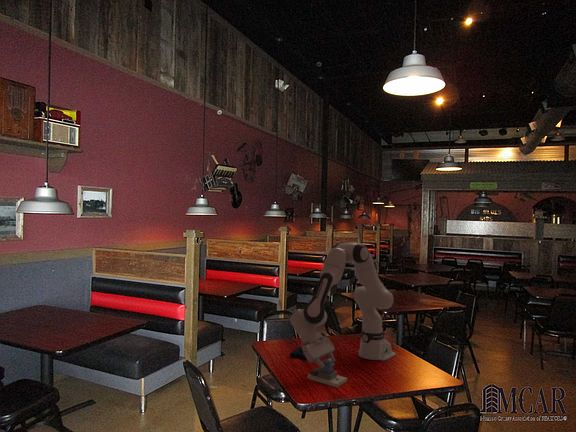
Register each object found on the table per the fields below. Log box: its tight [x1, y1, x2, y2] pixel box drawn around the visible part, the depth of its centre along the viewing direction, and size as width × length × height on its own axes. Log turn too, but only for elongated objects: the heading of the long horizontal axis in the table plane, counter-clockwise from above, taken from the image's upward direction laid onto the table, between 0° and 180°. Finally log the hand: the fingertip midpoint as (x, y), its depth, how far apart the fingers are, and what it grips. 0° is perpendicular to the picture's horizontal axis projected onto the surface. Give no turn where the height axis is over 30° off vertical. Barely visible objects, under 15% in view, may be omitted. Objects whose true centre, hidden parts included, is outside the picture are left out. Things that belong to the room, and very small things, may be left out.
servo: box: [321, 358, 335, 374], centre depth 192 cm, size 6×3×8 cm, turn 53°
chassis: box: [306, 366, 348, 388], centre depth 192 cm, size 16×10×4 cm, turn 53°
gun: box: [289, 345, 309, 362], centre depth 231 cm, size 24×3×15 cm
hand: (328, 364), depth 192 cm, fingers open, 8 cm apart
